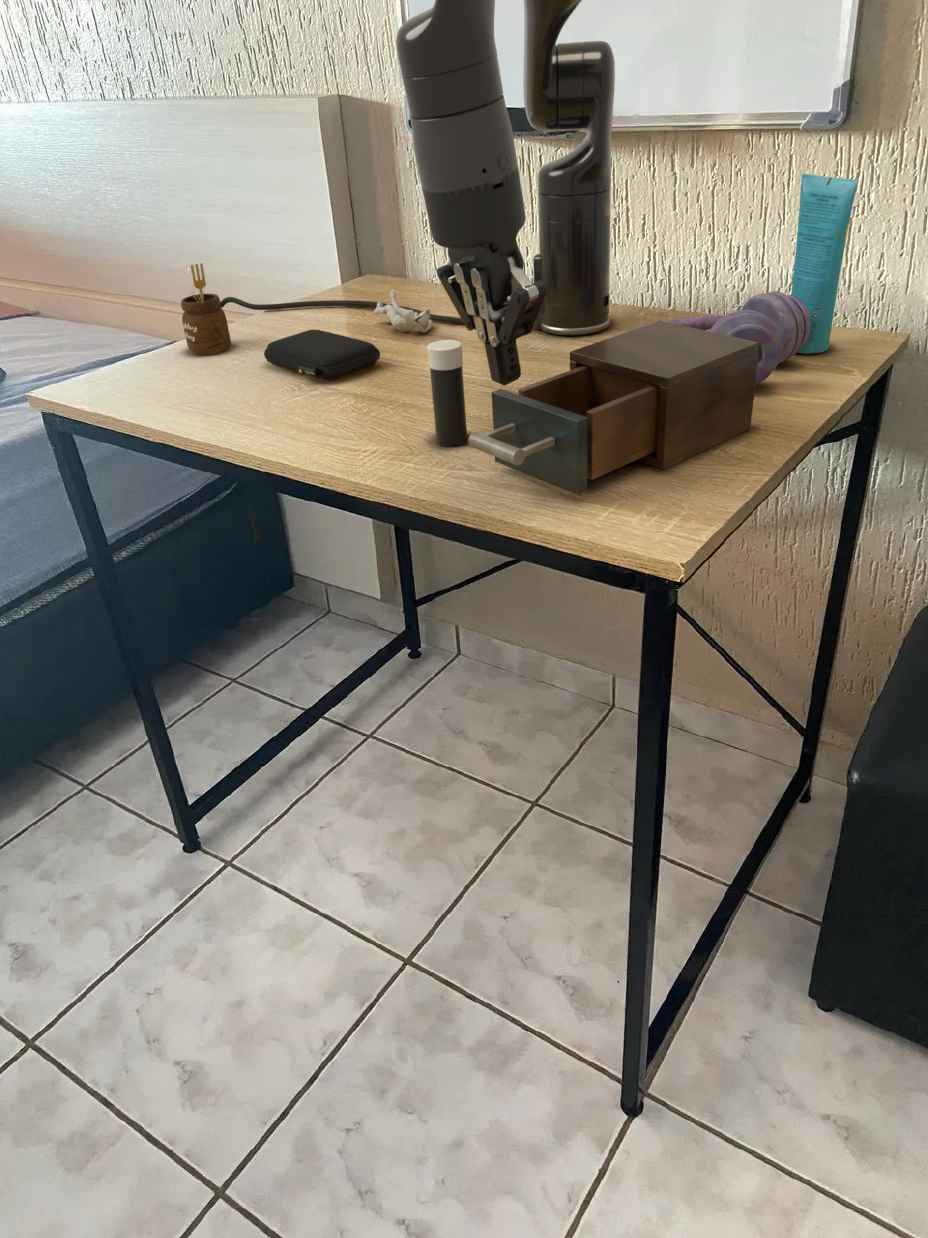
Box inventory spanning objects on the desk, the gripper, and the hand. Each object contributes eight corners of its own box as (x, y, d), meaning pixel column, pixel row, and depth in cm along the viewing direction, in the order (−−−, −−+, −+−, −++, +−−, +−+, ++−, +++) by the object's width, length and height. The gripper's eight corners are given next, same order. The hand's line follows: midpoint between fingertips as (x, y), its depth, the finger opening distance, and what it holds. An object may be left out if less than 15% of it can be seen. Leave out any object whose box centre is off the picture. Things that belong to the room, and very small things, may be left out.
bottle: (429, 444, 97) (420, 348, 92) (446, 432, 100) (438, 338, 94) (457, 449, 96) (450, 351, 90) (474, 437, 98) (468, 341, 93)
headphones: (822, 350, 111) (666, 356, 123) (820, 278, 108) (659, 291, 119) (766, 400, 99) (599, 401, 111) (762, 321, 95) (589, 330, 107)
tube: (845, 349, 113) (871, 175, 103) (821, 359, 111) (846, 181, 100) (791, 338, 118) (811, 170, 108) (768, 347, 116) (786, 177, 105)
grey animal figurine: (410, 324, 139) (457, 311, 129) (398, 353, 138) (443, 342, 128) (369, 293, 134) (414, 277, 125) (356, 322, 134) (400, 309, 124)
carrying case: (252, 367, 123) (322, 389, 114) (248, 344, 121) (319, 364, 112) (317, 346, 129) (388, 365, 120) (313, 324, 127) (385, 341, 118)
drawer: (535, 515, 80) (533, 438, 76) (453, 478, 87) (447, 407, 84) (668, 454, 89) (672, 383, 85) (583, 425, 96) (584, 358, 92)
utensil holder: (226, 340, 135) (208, 252, 128) (237, 351, 130) (218, 260, 123) (185, 348, 133) (164, 259, 126) (194, 359, 128) (173, 267, 121)
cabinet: (663, 469, 88) (668, 378, 83) (570, 436, 96) (569, 351, 92) (750, 429, 95) (759, 342, 90) (656, 401, 103) (660, 320, 98)
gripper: (384, 178, 75) (432, 378, 86) (477, 195, 66) (517, 418, 76) (461, 149, 78) (498, 347, 88) (560, 161, 68) (588, 382, 79)
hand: (507, 379), depth 82 cm, fingers closed
